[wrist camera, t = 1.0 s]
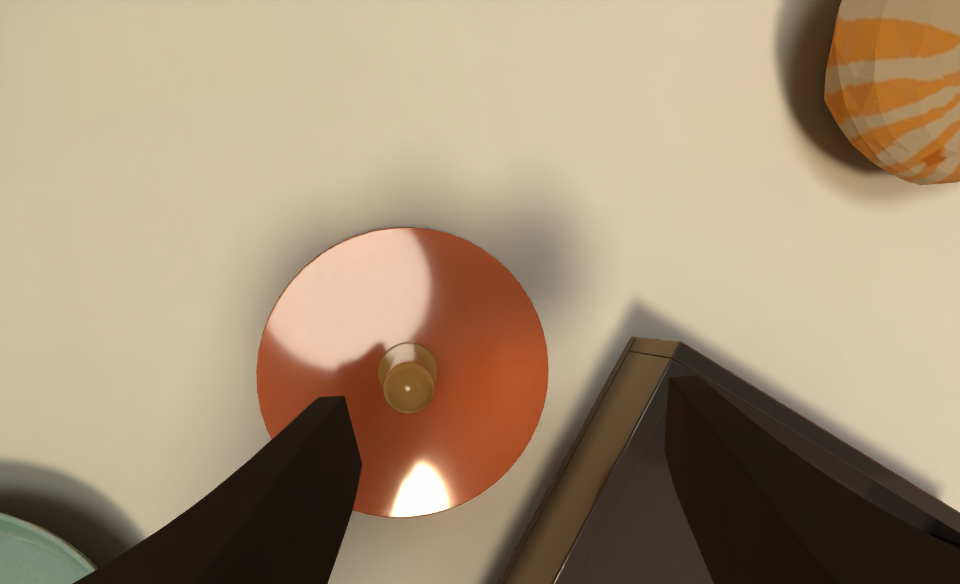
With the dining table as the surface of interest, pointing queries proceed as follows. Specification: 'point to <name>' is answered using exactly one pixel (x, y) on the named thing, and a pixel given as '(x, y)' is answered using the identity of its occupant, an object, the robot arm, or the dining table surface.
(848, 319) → the dining table surface
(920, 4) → the nautilus shell
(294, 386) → the orange round pegged disc
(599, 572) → the tray
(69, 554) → the saucer
